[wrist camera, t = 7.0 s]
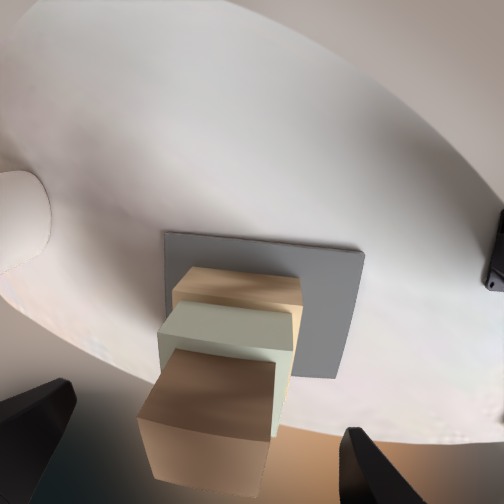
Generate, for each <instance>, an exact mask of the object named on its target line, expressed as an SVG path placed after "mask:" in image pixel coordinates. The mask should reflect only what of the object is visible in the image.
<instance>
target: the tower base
mask: <svg viewBox="0 0 504 504" xmlns="http://www.w3.org/2000/svg"><path fill="white" fill-rule="evenodd" d="M180 300H186V301H192V302H199V303H207V304H214V305H222V306H230V307H238V308H246V309H255V310H264V311H273V312H283V313H292V323H293V356H292V361H291V367H290V372H289V377H288V382H287V387H286V392H285V397H284V402H285V401H286V396H287V391H288V386H289V381H290V376H291V371H292V366H293V361H294V356H295V350H296V345H297V339H298V334H299V328H300V322H301V316H302V310H303V300H302V292H301V284H300V278H293V277H283V276H274V275H264V274H255V273H246V272H237V271H228V270H219V269H211V268H202V267H194V266H192V268H191V269H190V270H189V271H188V272H187V273H186V275H185V276H184V277H183V278H182V279H181V280H180V282H179V283H178V284H177V285H176V286H175V287H174V289H173V290H172V305H173V310H174V308H175V307H176V305H177V304H178V303H179V301H180Z"/></svg>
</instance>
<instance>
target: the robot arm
mask: <svg viewBox="0 0 504 504" xmlns="http://www.w3.org/2000/svg"><path fill="white" fill-rule="evenodd" d="M490 283H491V285H490ZM485 287H486V289H488V290H489V291H499V292H504V209H503V210H502V212H501V216H500V221H499V227H498V232H497V237H496V242H495V247H494V251H493V255H492V260H491V264H490V268H489V271H488V275H487V279H486V282H485ZM76 403H77V397H76V394H75V391H74V389H73V386H72V383H71V382H70V381H69V380H67V379H64V378H58V379H56V380H53V381H51V382H48V383H45V384H43V385H41V386H38V387H36V388H33V389H31V390H28V391H26V392H24V393H21V394H18V395H16V396H13V397H11V398H8V399H6V400H3V401H0V504H28V503H29V501H30V499H31V497H32V495H33V493H34V491H35V489H36V487H37V485H38V483H39V480H40V479H41V477H42V475H43V473H44V471H45V469H46V467H47V465H48V463H49V461H50V459H51V457H52V455H53V453H54V451H55V450H56V448H57V446H58V444H59V442H60V440H61V438H62V436H63V434H64V432H65V430H66V427H67V425H68V422H69V420H70V417H71V415H72V413H73V410H74V408H75V406H76ZM339 495H340V504H427V503H426V502H425V501H423V499H422V498H421V496H420V495H419V494H418V493H417V492H416V491H415V490H414V488H413V487H412V486H411V485H410V484H409V483H408V482H407V481H406V479H405V478H404V477H403V476H402V475H401V474H400V473H399V471H398V470H397V469H396V468H395V467H394V466H393V464H392V463H391V462H390V461H389V460H388V459H387V457H386V456H385V455H384V454H383V453H382V452H381V450H380V449H379V448H378V447H377V446H376V445H375V444H374V443H373V441H372V440H371V439H370V438H369V436H368V435H367V434H366V433H365V432H364V430H363V429H362V428H360V427H348V428H347V429H346V431H345V433H344V436H343V438H342V440H341V443H340V448H339Z"/></svg>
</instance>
